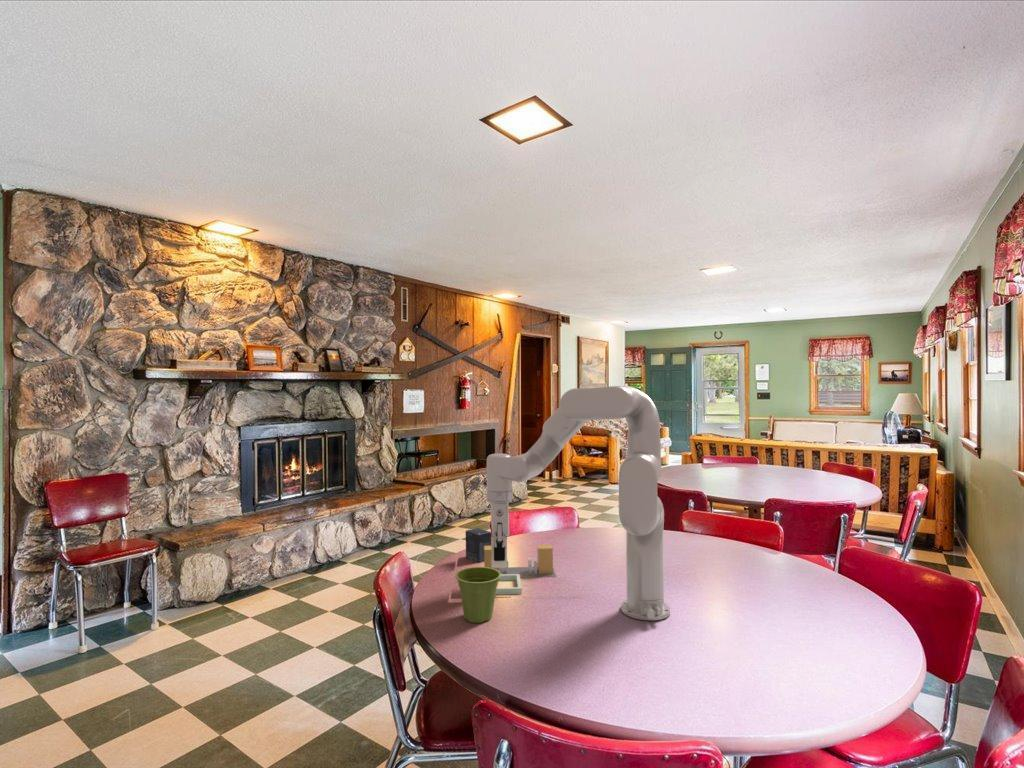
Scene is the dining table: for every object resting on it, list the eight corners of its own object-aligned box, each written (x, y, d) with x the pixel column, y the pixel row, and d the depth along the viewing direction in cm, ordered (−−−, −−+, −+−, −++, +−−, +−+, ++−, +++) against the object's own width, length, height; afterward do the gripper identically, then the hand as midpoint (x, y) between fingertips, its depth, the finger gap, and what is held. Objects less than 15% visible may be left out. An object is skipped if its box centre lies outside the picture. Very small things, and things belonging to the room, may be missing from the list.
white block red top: (506, 567, 155) (506, 533, 156) (491, 567, 155) (491, 533, 155) (506, 562, 160) (506, 529, 160) (491, 562, 160) (491, 529, 160)
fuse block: (556, 580, 165) (556, 550, 165) (482, 581, 164) (481, 552, 164) (552, 569, 175) (552, 541, 175) (482, 571, 174) (482, 543, 174)
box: (491, 562, 183) (491, 531, 183) (478, 566, 179) (478, 534, 179) (478, 557, 189) (478, 527, 189) (465, 560, 185) (465, 530, 186)
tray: (521, 597, 152) (521, 588, 152) (479, 598, 151) (479, 589, 151) (519, 582, 164) (519, 573, 164) (480, 583, 163) (480, 574, 163)
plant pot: (460, 630, 131) (459, 584, 131) (452, 611, 142) (452, 569, 143) (506, 624, 134) (506, 579, 134) (495, 606, 145) (495, 564, 146)
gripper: (513, 501, 150) (513, 567, 149) (510, 490, 166) (510, 549, 166) (486, 502, 149) (486, 567, 149) (486, 490, 166) (486, 549, 166)
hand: (499, 557), depth 158 cm, fingers closed on white block red top, 4 cm apart
